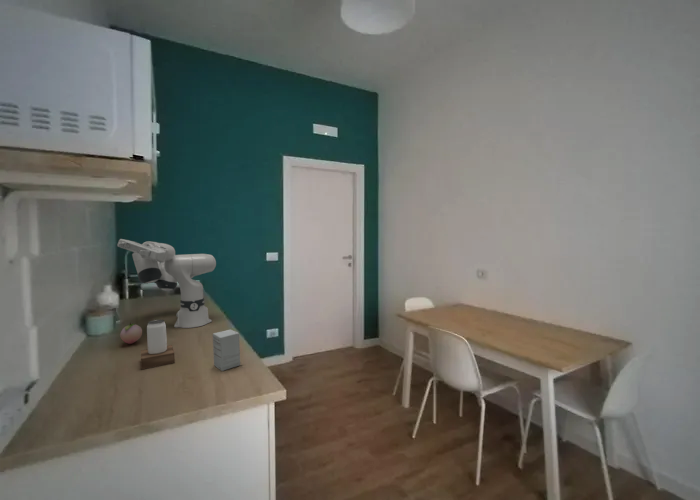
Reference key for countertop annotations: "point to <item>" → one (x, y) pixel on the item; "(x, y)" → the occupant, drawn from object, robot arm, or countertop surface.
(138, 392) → the countertop surface
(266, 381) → the countertop surface
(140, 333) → the decorative fruit
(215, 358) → the supplement box
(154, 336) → the can
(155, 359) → the walnut base
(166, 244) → the robot arm
